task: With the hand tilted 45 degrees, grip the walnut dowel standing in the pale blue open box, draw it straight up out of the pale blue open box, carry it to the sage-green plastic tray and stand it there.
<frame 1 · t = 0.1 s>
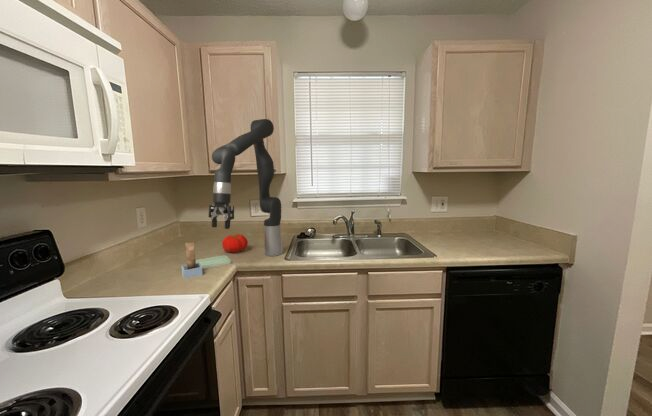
hand: (220, 228, 124), 22 cm above the worktop, tool pointing down, fingers open, 8 cm apart
tray: (212, 264, 142), on the worktop
tomato: (235, 251, 166), on the worktop
pale blue open box: (192, 275, 127), on the worktop
dowel: (192, 274, 127), point 1 cm above the worktop, touching pale blue open box
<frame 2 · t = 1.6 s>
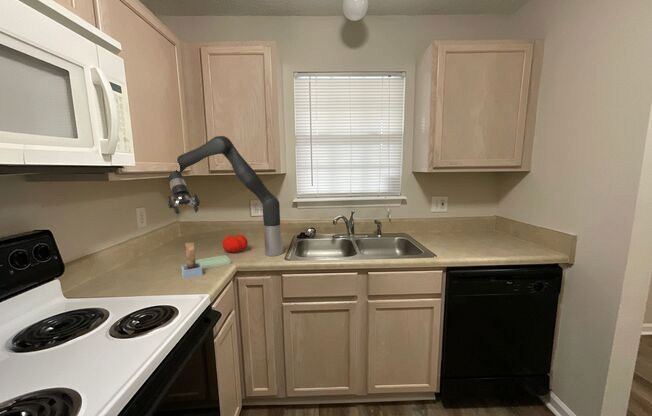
hand: (187, 212, 137), 28 cm above the worktop, tool tilted 45°, fingers open, 8 cm apart
nothing on the worktop moved.
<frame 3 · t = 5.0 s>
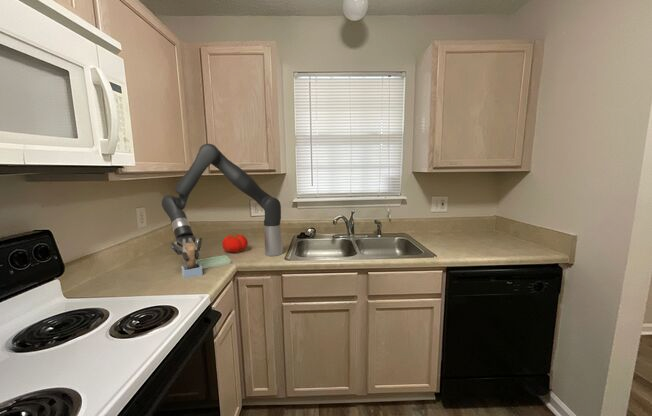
hand: (192, 259, 124), 9 cm above the worktop, tool tilted 45°, fingers closed on dowel, 3 cm apart
dowel: (192, 274, 127), point 1 cm above the worktop, touching pale blue open box, gripper
everything else where it was.
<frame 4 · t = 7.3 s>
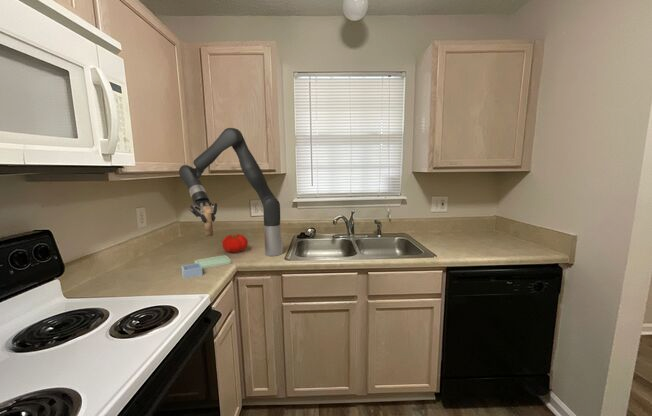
hand: (209, 221, 135), 24 cm above the worktop, tool tilted 45°, fingers closed on dowel, 3 cm apart
dowel: (209, 235, 138), point 16 cm above the worktop, touching gripper
everything else where it was.
when the fingers open (10 cm above the worktop, at t = 9.6 s): dowel stays where it is, resting on tray.
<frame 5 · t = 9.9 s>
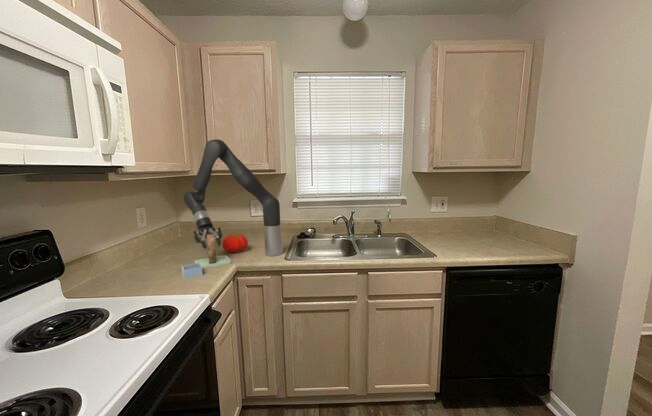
hand: (212, 246, 139), 10 cm above the worktop, tool tilted 45°, fingers open, 6 cm apart
dowel: (212, 262, 142), point 1 cm above the worktop, touching tray
everything else where it was.
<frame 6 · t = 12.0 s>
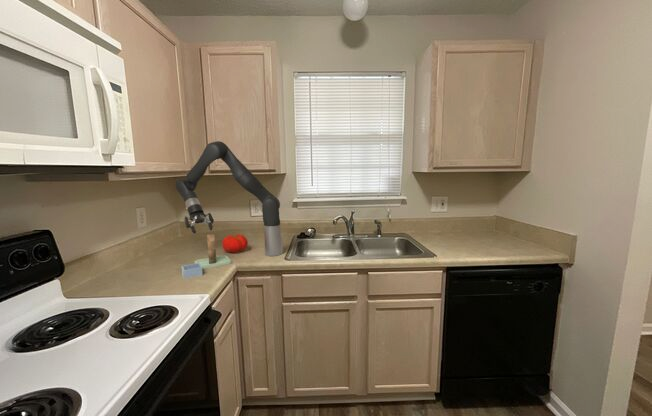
hand: (203, 231, 149), 16 cm above the worktop, tool tilted 40°, fingers open, 8 cm apart
nothing on the worktop moved.
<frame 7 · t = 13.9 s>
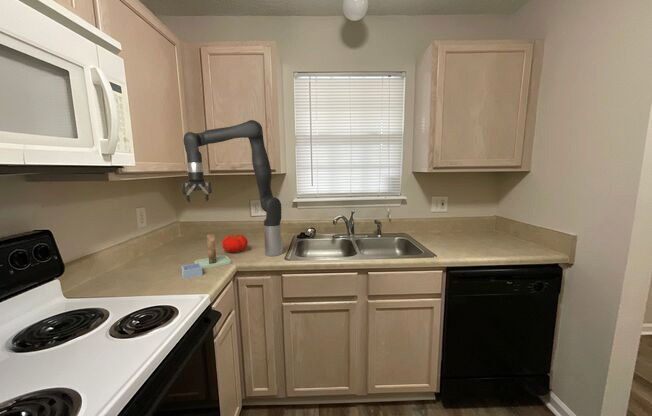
hand: (198, 201, 147), 32 cm above the worktop, tool pointing down, fingers open, 8 cm apart
nothing on the worktop moved.
at the end: dowel inside the target area on the tray (0.1 cm from its centre), point 1.0 cm above the tray's base; the gripper is holding nothing; dowel touching tray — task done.
